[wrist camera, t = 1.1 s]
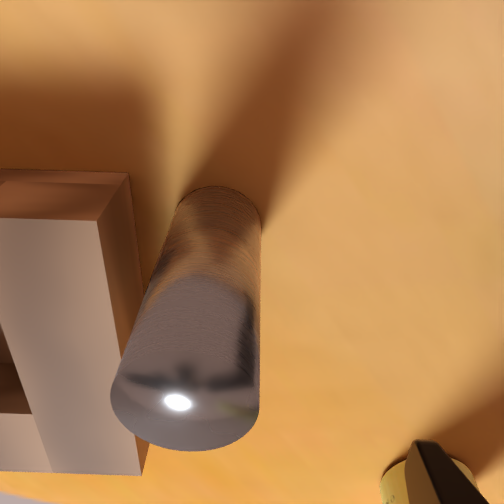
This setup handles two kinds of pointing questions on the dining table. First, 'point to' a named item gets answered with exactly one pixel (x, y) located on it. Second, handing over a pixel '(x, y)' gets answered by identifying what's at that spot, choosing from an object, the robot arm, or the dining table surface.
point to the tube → (396, 487)
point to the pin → (197, 330)
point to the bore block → (66, 320)
